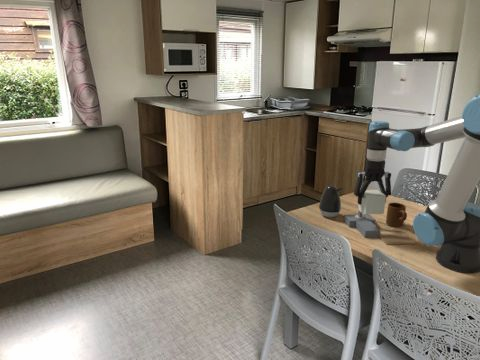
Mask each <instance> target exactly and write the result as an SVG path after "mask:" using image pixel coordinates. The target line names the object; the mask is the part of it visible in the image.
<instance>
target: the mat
mask: <svg viewBox="0 0 480 360" xmlns="http://www.w3.org/2000/svg"><path fill="white" fill-rule="evenodd" d="M378 238H380V240H381V241H382V242H383V243H384V244H385V245H386V246H394V245H397V246H398V245H399V246H401V245H416V242H415V241H413V240H412V239H411V238H410V237H409V236H408V235H407V234H406V233H404V232H403V231H401V230H397V231H396V230H395V231H394V230H392V231H391V230H389V231H380V236H379V237H378Z"/></svg>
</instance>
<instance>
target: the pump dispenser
mask: <svg viewBox="0 0 480 360" xmlns="http://www.w3.org/2000/svg"><path fill="white" fill-rule="evenodd" d="M343 190H344V189H343V187H339V188H337V187H336V186H335V185H328V186H327V187H326V188H324V190H323V193H322V195H321V197H320V201H319V205H318V208H319V211H320V213H321V215H322V216H323V217H325V218H331V219H332V218H335V217H337V216H338V215H339V214H340V211H341V210H342V205H341V204H342V203H341V202H342V201H341V197H340V196H341V195H340V193H339V192H340V191H343Z"/></svg>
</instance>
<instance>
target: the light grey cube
mask: <svg viewBox="0 0 480 360" xmlns="http://www.w3.org/2000/svg"><path fill="white" fill-rule="evenodd" d="M363 197H364V206H363V213H362V214H369V215H383V214H385V208H386V207H385V206H386V203H385V199H386V200H387V198H386V195H384V194H383V193H381V191H380V189H379V190H378V189H366V191H365V193H364V195H363ZM357 204H358V203H357ZM357 208H358V209H359V204H358V206H357Z"/></svg>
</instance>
